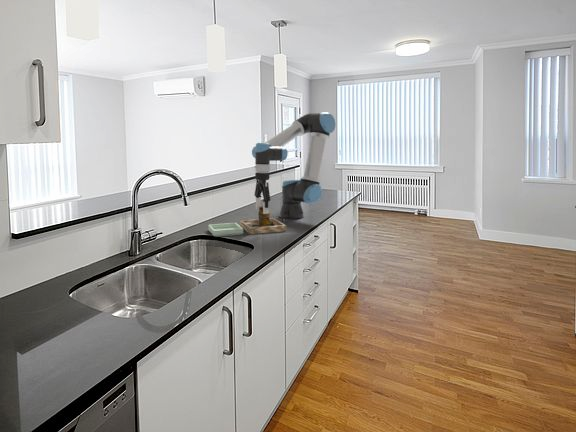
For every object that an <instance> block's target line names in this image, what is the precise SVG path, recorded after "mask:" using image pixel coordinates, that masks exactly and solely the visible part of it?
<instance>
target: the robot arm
mask: <svg viewBox="0 0 576 432" xmlns="http://www.w3.org/2000/svg"><path fill="white" fill-rule="evenodd" d="M335 129H336V119H335V117H334V115H333V114H332V113H331V112H324V111H323V112H310V113H306V114H304V115H302V116H300V117H299V118H297V119H295V120H294V121H293V122H292V123H291V125H290V126H288V127H286V128H285V129H284V130H282V131H281V132H279V133H278V134H276V135H274V136H273V137H272V138H270V139H269V140H267V141H265V142H257V143H255V146H253V148H252V149H251V155H252V157H253V158H254V160H255V161H254V162H255V165H254V169H255V170H254V171H255V174H254V175H255V176H254V179H255V182H256V183H255V189H254V197H255V210H258V211H259V207H261V206H263V214H269V212H270V207H269V206H270V204H269V203H270V201H271V194H270V189H269V188H270V187H269V182H267V181H269V180H270V170H271V169H270V162H273V161H274V162H275V161H276V162H277V161H278V162H279V161H280V162H281V161H285V160H286V159H287V158H288V149H287V147H285V146H286V145H287V144H289V143H291V142H292V141H293V140H294V139H296V138H297V137H302V136H303V135H305V134H309V135H310V136H311V139H310V143H309V148H308V154H307V159H306V163H305V167H304V173H303V176H302V177H300V179H299V178H298V179H287V180H283V182H282V186H281V191H282V192H281V194H282V196H281V197H282V201H281V203H282V204H281V207H280V210H279V212H278V213H279V217H280V218H283V219H288V220H289V219H293V220H294V219H302V218H304V215H305V214H304V211H303V206H302V203H305V204H315V203H317V202H318V201H320V199H321V197H322V193H323V189H322V186H321V185H320V183H321V181H320V180H319V175H320V170H321V166H322V161H323V155H324V150H325V146H326V141H327V139H329V138H330V134H331V133H334V131H335ZM262 198H263V200H262ZM262 202H263V203H262Z"/></svg>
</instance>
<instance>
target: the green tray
mask: <svg viewBox="0 0 576 432" xmlns="http://www.w3.org/2000/svg"><path fill="white" fill-rule="evenodd" d="M208 231H209V233H210V234H211V233H212V234H211V235H212V236H213V237H214V238H215V237H216V238H217V237H223V236H224V237H225V236H227V237H228V236H240V235H244V229H243V228H242V227H241V226H240V224H238V223H237V222H226V223H224V222H223V223H213V224H211V223H210V224H208Z"/></svg>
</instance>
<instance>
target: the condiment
mask: <svg viewBox="0 0 576 432" xmlns="http://www.w3.org/2000/svg"><path fill="white" fill-rule="evenodd" d="M270 215H271V214H270V211H269V214H263V205H261V207H259V210H258V219H259V225H258V227H268V226H271V224H270V217H271V216H270ZM255 227H256V226H254V227H253V226H252V228H255Z"/></svg>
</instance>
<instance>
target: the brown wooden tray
mask: <svg viewBox="0 0 576 432" xmlns="http://www.w3.org/2000/svg"><path fill="white" fill-rule="evenodd" d="M248 222H250V223H252V226H254V227H255V228H253V227H250V226H248V225H247V224H246V223H248ZM271 225H272V226H271ZM275 225H277V226H275ZM239 226H241V227H242V228H243V230H245V231H246V232H247V233H248V234H249V235H253V234H265V233H278V232H286V231H287V224H284V223H283V222H281V221H279V220H278V219H276V218H274V217H272V218H270V226H268V227H259V218H257V219H256V218H255V219H246V220H244V219H243V220H240V221H239Z"/></svg>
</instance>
